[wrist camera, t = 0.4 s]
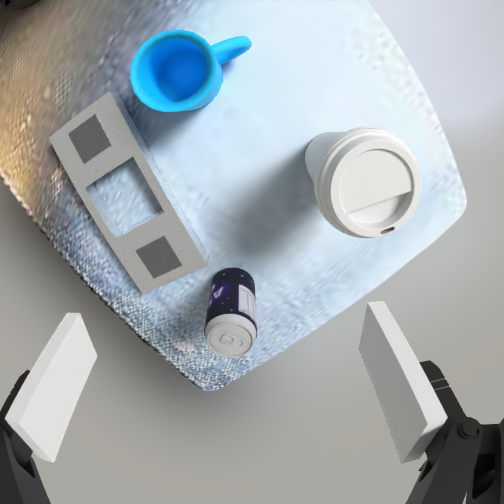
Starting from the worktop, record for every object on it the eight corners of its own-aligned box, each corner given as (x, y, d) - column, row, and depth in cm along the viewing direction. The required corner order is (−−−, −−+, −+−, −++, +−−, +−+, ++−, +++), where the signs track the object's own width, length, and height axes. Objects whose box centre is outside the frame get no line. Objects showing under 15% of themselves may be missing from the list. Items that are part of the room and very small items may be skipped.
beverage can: (221, 258, 42) (214, 312, 31) (261, 273, 43) (266, 330, 32) (206, 292, 44) (196, 350, 33) (244, 305, 45) (244, 366, 35)
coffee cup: (289, 195, 39) (313, 245, 25) (293, 116, 35) (324, 122, 21) (363, 198, 39) (418, 247, 25) (370, 124, 35) (436, 138, 21)
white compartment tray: (58, 135, 34) (48, 138, 32) (117, 91, 33) (109, 91, 30) (147, 284, 44) (142, 294, 41) (208, 256, 42) (206, 265, 40)
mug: (172, 123, 35) (153, 128, 27) (142, 67, 32) (116, 58, 24) (265, 77, 33) (271, 69, 25) (234, 19, 30) (232, -3, 22)
